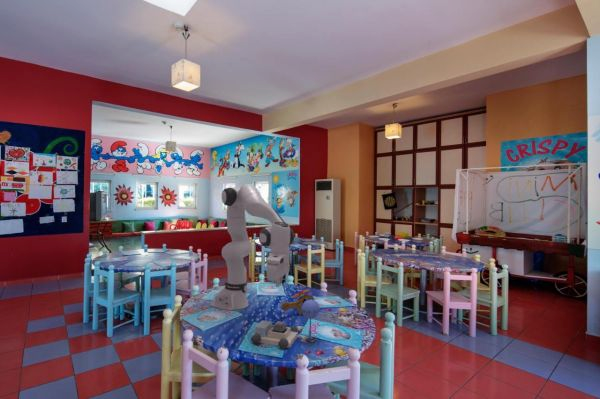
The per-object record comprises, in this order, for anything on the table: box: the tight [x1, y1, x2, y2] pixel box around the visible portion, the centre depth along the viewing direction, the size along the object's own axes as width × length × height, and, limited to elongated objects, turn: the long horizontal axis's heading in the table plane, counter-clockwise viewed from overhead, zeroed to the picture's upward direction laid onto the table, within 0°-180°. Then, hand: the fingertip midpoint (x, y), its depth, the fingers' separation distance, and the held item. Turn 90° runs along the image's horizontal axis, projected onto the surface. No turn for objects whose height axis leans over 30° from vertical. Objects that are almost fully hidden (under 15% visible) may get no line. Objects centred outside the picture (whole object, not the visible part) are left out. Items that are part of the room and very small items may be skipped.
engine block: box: [272, 320, 287, 333], centre depth 144 cm, size 5×4×6 cm
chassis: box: [250, 319, 299, 350], centre depth 145 cm, size 18×16×6 cm
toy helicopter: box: [280, 288, 315, 316], centre depth 176 cm, size 8×21×14 cm, turn 120°
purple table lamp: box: [301, 299, 321, 341], centre depth 146 cm, size 9×9×18 cm
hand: (278, 286), depth 147 cm, fingers closed
